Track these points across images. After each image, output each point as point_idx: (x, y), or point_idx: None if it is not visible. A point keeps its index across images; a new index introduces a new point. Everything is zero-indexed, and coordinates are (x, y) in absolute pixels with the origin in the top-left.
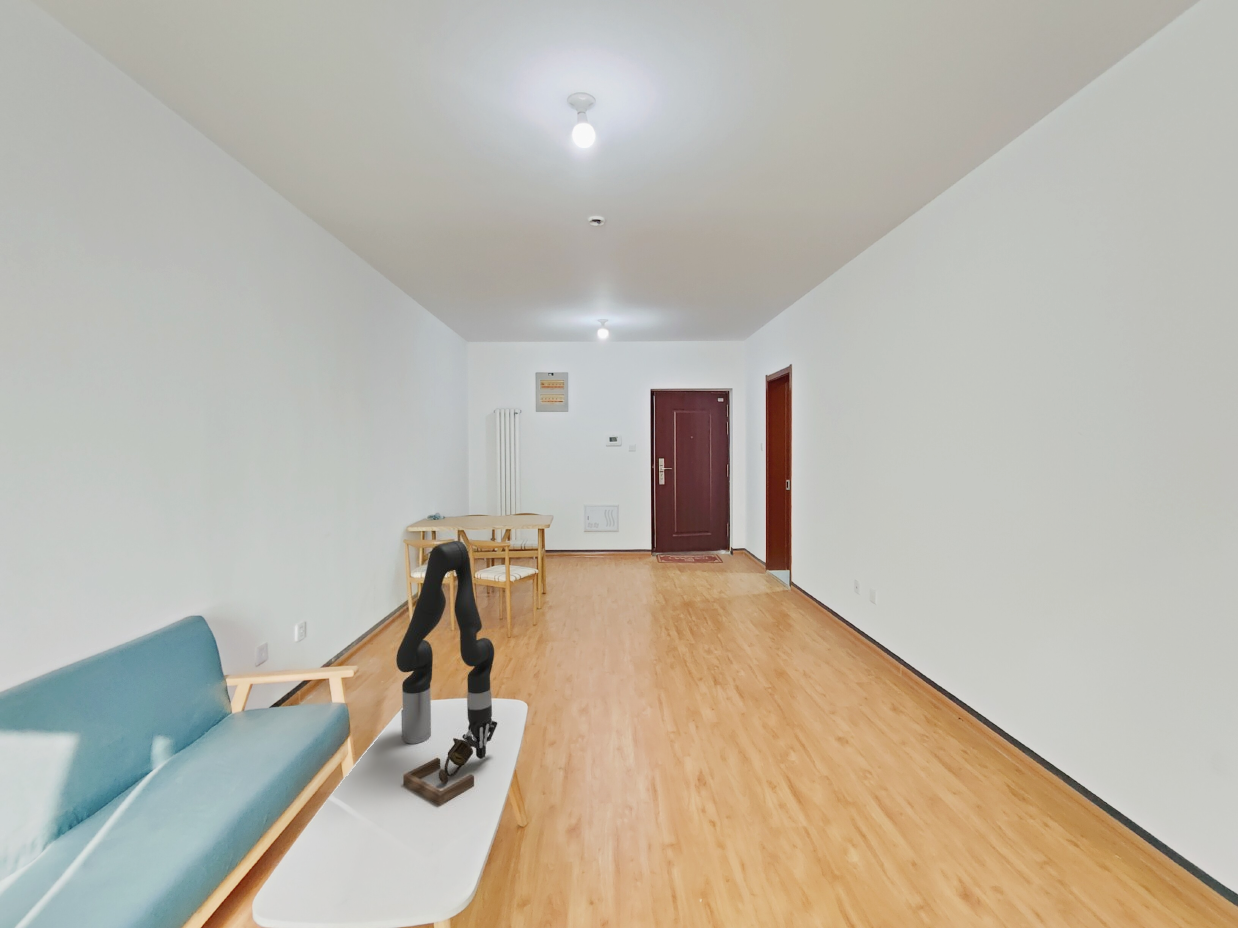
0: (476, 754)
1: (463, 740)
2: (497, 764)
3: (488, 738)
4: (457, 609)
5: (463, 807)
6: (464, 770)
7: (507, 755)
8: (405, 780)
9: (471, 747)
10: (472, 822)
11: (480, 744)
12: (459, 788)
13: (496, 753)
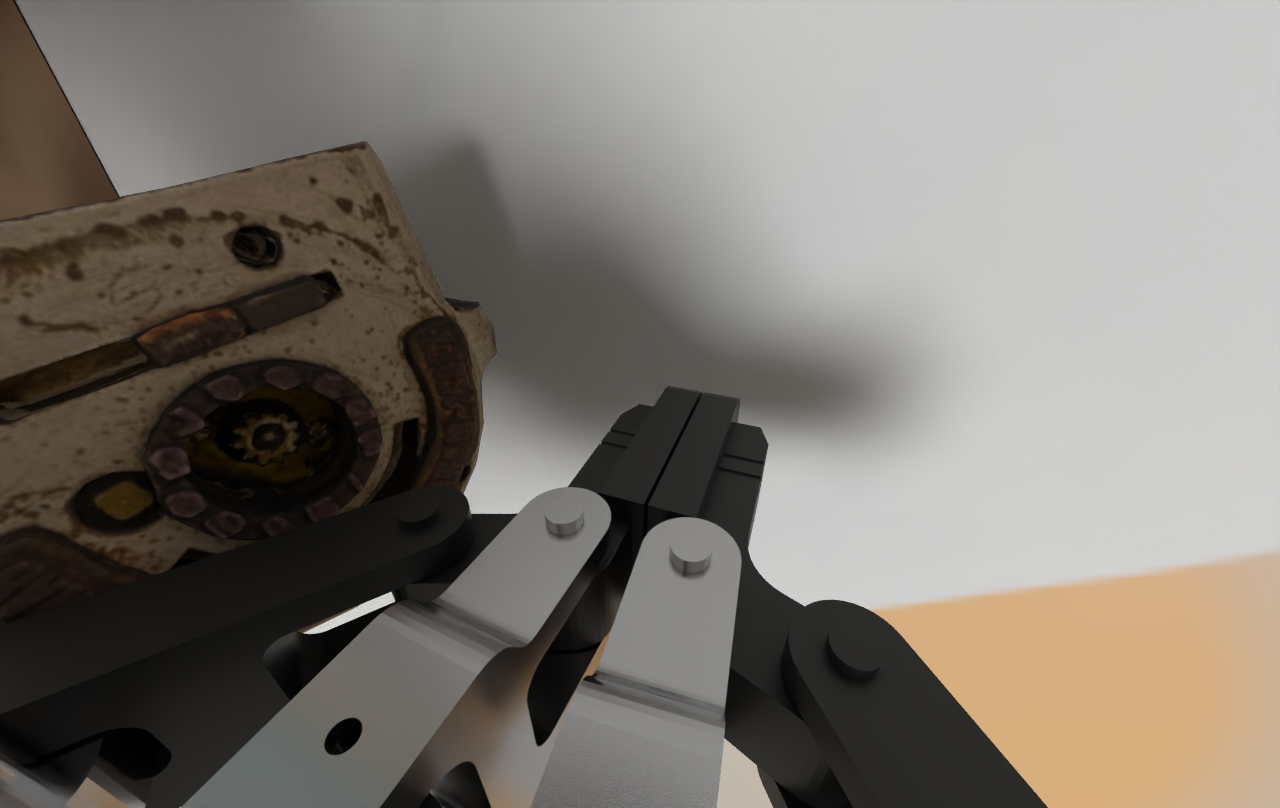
0: (616, 429)
1: (3, 618)
2: (782, 550)
3: (770, 782)
4: None
5: None
6: (503, 322)
7: (1036, 573)
8: None
9: (320, 621)
10: (338, 624)
11: (547, 650)
12: None
13: (1054, 431)
